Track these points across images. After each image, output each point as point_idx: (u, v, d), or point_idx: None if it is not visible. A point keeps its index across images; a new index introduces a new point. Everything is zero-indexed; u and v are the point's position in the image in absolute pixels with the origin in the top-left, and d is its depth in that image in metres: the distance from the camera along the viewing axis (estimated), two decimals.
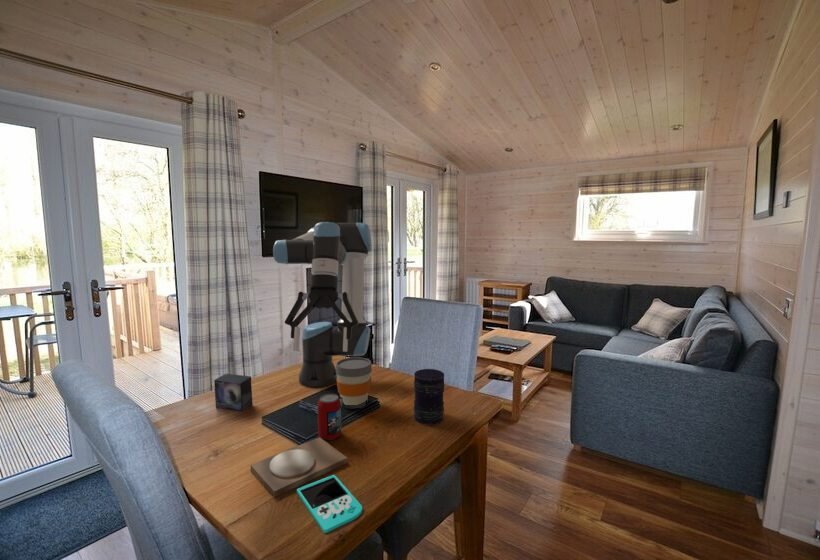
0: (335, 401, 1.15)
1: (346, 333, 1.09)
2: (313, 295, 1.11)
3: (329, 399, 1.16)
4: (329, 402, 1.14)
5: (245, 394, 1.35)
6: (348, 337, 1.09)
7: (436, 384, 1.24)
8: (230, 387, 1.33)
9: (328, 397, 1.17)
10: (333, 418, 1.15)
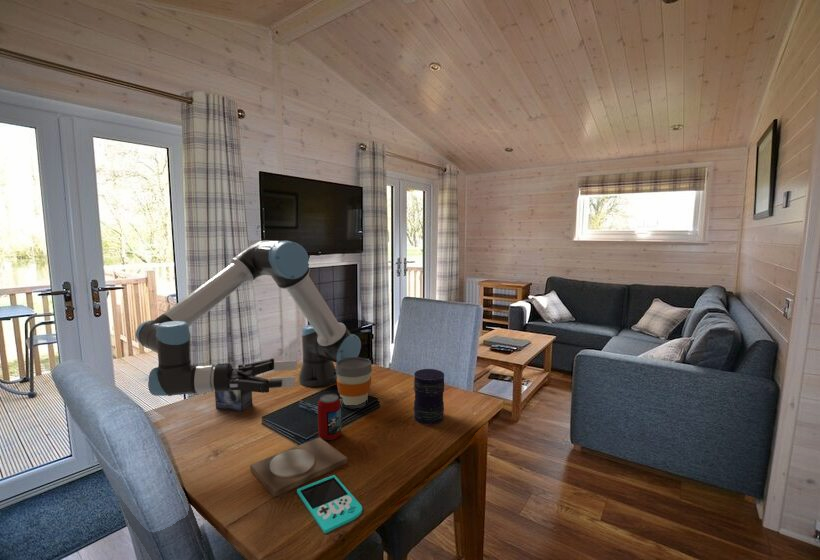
0: (335, 401, 1.15)
1: None
2: None
3: (329, 399, 1.16)
4: (329, 402, 1.14)
5: (245, 394, 1.35)
6: None
7: (436, 384, 1.24)
8: None
9: (328, 397, 1.17)
10: (333, 419, 1.15)
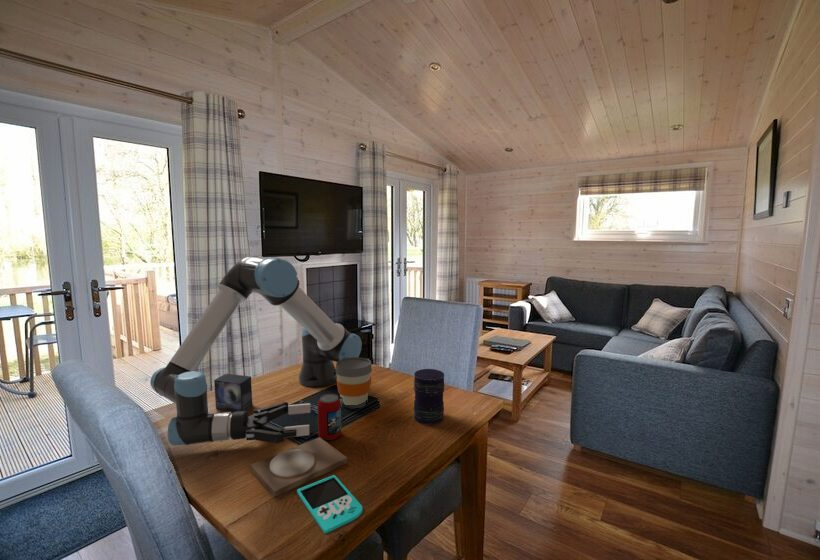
0: (335, 401, 1.15)
1: None
2: None
3: (329, 399, 1.16)
4: (329, 402, 1.14)
5: (245, 394, 1.35)
6: None
7: (436, 384, 1.24)
8: (230, 387, 1.33)
9: (328, 397, 1.17)
10: (333, 419, 1.15)
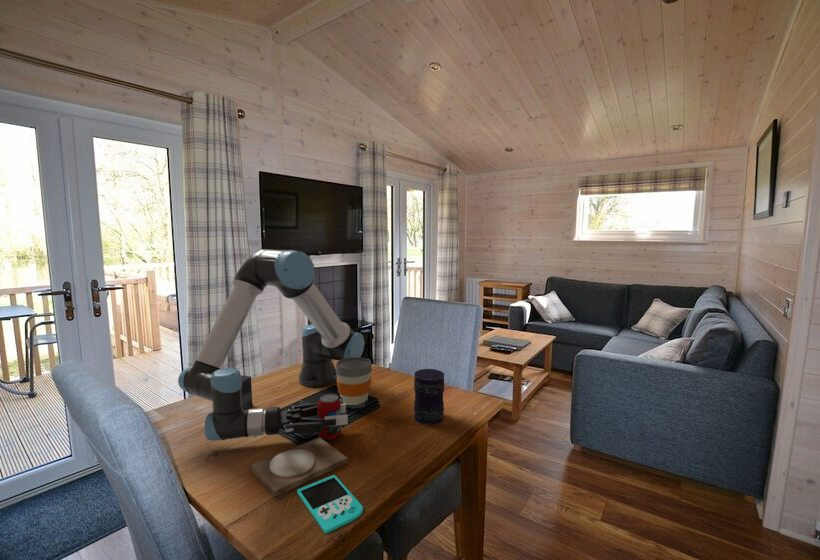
0: (335, 401, 1.15)
1: None
2: None
3: (329, 399, 1.16)
4: (329, 402, 1.14)
5: (245, 394, 1.35)
6: None
7: (436, 384, 1.24)
8: None
9: (329, 397, 1.17)
10: None
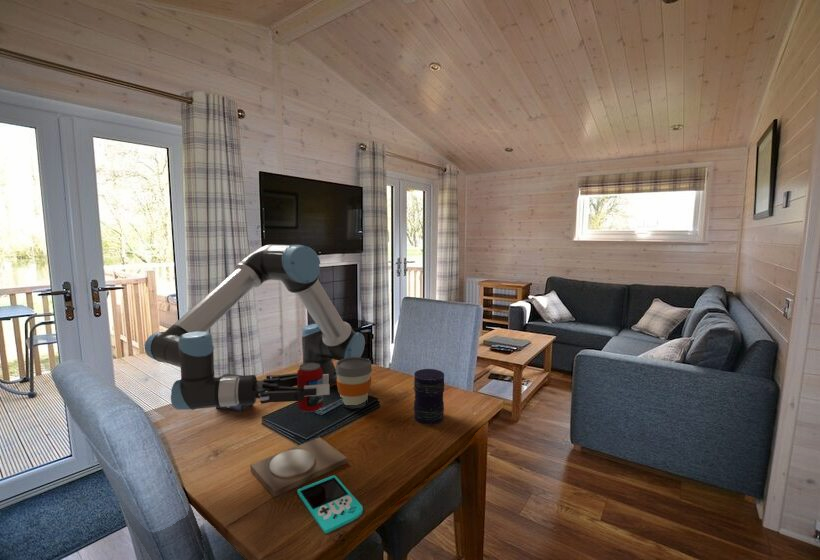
0: (316, 369, 1.06)
1: (310, 394, 1.04)
2: None
3: (310, 367, 1.07)
4: (309, 370, 1.05)
5: None
6: None
7: (436, 384, 1.24)
8: None
9: (309, 366, 1.08)
10: None
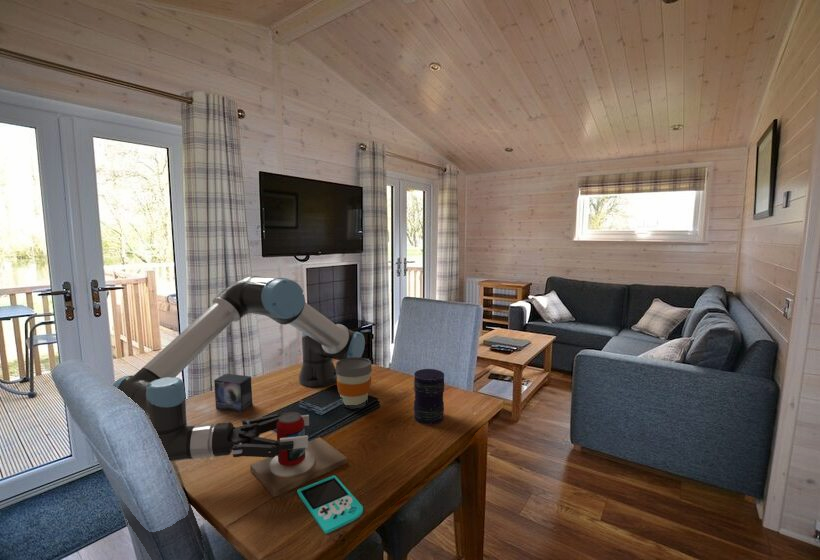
0: (297, 421, 0.99)
1: None
2: None
3: (290, 418, 0.99)
4: (289, 422, 0.98)
5: (245, 394, 1.35)
6: None
7: (436, 384, 1.24)
8: (230, 387, 1.33)
9: (290, 416, 1.01)
10: None
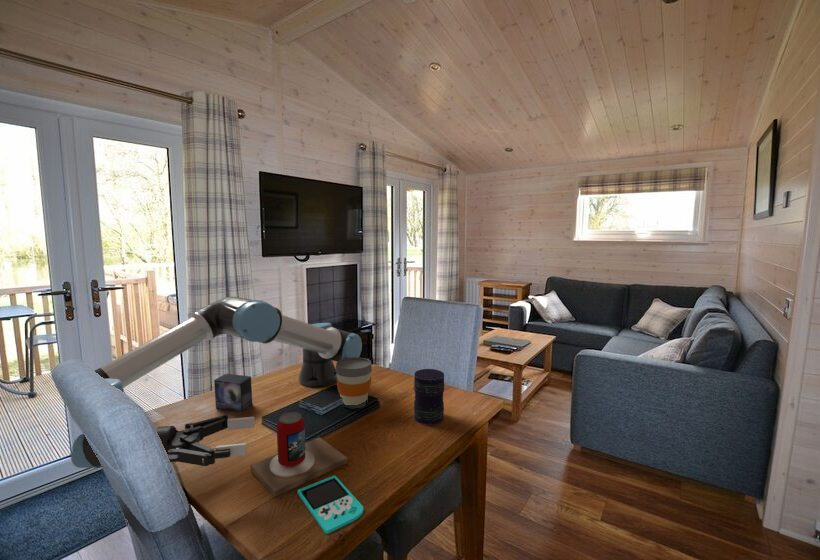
0: (297, 421, 0.98)
1: None
2: None
3: (290, 419, 0.99)
4: (290, 423, 0.97)
5: (245, 394, 1.35)
6: None
7: (436, 384, 1.24)
8: (230, 387, 1.33)
9: (290, 416, 1.01)
10: (294, 442, 0.98)
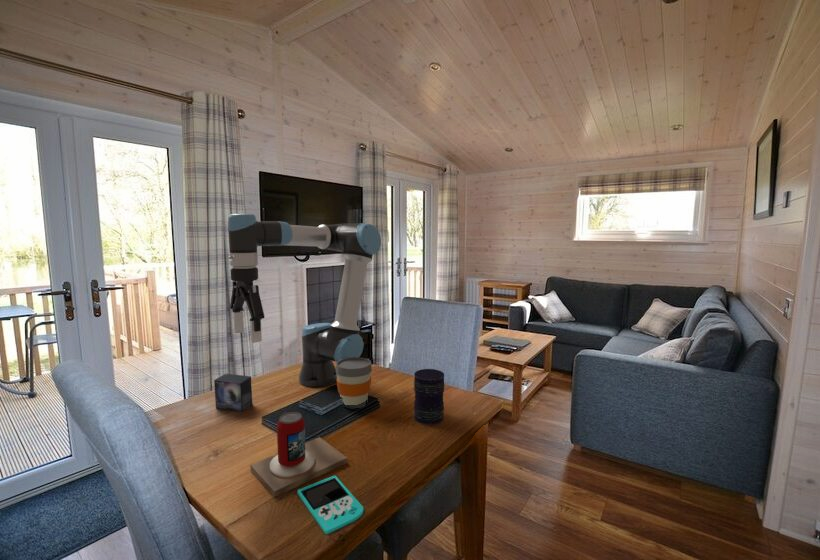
0: (297, 421, 0.98)
1: (252, 326, 1.13)
2: (238, 286, 1.19)
3: (290, 419, 0.99)
4: (290, 423, 0.98)
5: (245, 394, 1.35)
6: (254, 330, 1.13)
7: (436, 384, 1.24)
8: (230, 387, 1.33)
9: (290, 416, 1.01)
10: (294, 442, 0.98)
